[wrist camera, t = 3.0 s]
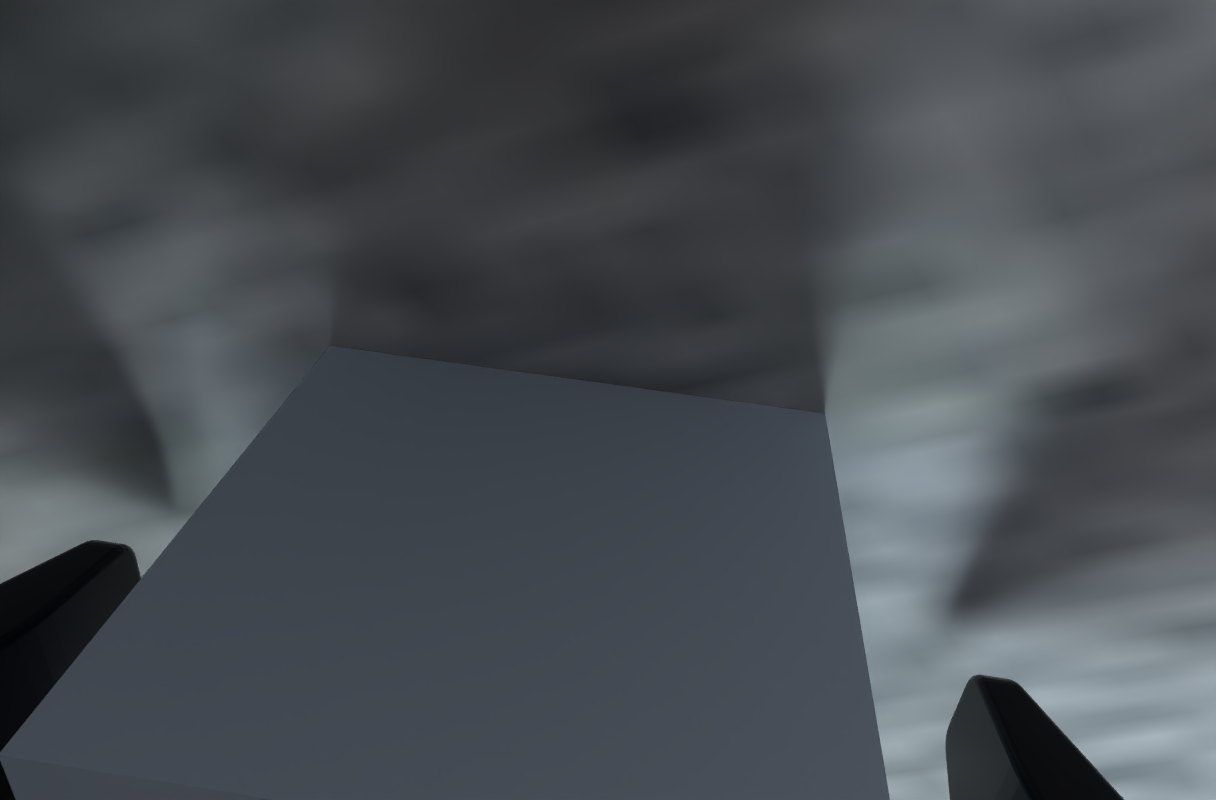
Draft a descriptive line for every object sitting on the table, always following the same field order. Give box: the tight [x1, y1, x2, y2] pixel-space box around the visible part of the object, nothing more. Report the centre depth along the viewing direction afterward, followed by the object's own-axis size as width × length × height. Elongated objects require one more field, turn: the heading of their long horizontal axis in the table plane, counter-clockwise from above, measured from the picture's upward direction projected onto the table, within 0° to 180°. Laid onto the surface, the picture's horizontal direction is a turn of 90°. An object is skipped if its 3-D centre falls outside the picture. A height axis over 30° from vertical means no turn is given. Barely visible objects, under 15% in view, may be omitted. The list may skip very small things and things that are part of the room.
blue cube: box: [0, 346, 890, 800], centre depth 8 cm, size 5×5×5 cm
